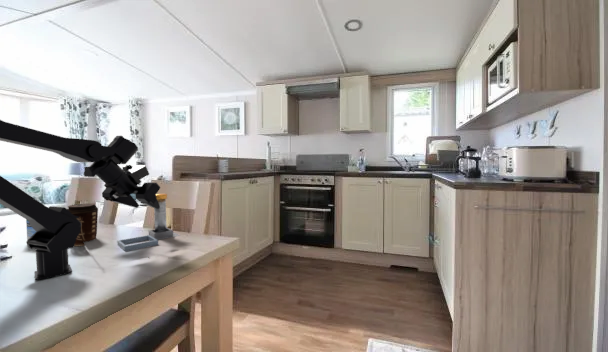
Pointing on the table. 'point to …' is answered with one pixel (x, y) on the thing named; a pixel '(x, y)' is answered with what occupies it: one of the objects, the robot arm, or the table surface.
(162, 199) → the stop pin
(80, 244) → the coffee cup
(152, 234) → the square socket base
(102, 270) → the table surface
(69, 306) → the table surface
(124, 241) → the tray
